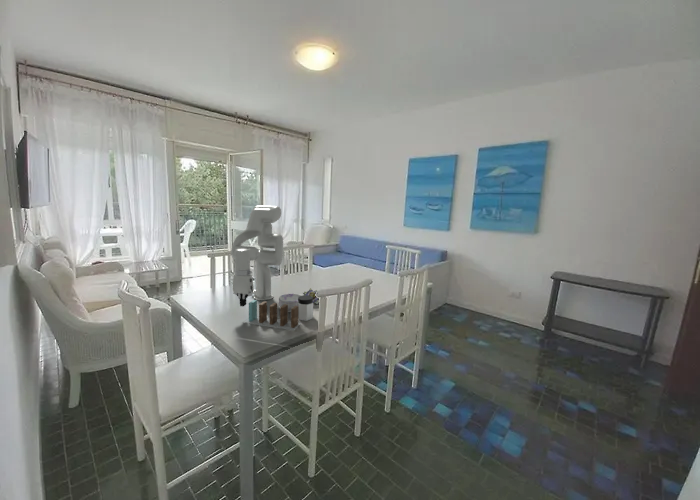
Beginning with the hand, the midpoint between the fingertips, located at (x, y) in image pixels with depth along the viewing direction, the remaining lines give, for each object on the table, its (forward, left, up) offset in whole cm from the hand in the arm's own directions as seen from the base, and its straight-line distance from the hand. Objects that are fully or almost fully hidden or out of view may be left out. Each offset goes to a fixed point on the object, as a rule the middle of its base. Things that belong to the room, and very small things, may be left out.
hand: (243, 305), depth 154 cm
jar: (+31, +12, -8) cm, 34 cm away
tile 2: (+12, 0, -7) cm, 14 cm away
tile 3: (+18, 0, -7) cm, 19 cm away
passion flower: (+26, +34, -8) cm, 44 cm away
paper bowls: (+19, +21, -8) cm, 29 cm away
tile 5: (+30, 0, -7) cm, 31 cm away
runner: (+17, 0, -8) cm, 19 cm away
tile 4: (+24, 0, -7) cm, 25 cm away
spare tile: (+6, 0, -7) cm, 9 cm away
